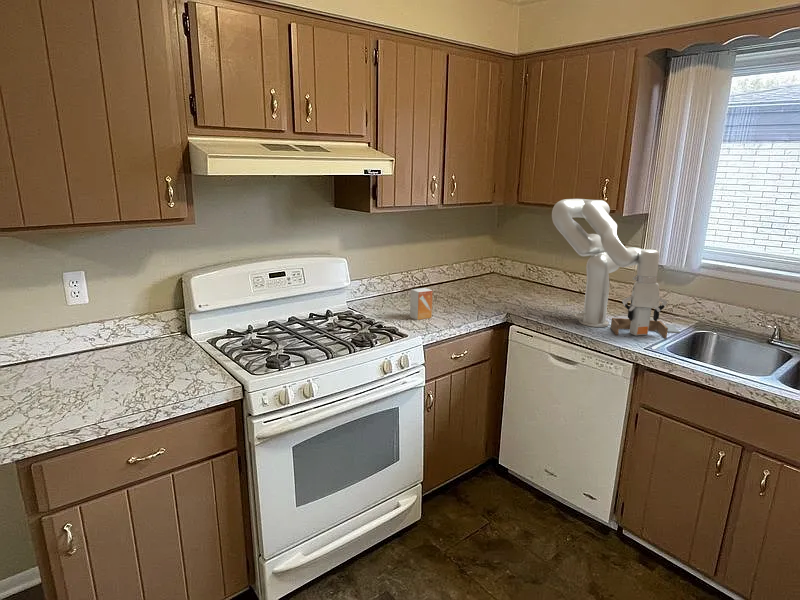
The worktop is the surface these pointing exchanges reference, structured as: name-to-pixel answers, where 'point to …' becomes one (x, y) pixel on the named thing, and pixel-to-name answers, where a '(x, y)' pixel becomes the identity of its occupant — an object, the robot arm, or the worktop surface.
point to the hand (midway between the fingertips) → (642, 320)
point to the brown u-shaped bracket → (625, 323)
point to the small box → (421, 303)
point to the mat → (671, 329)
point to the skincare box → (640, 321)
